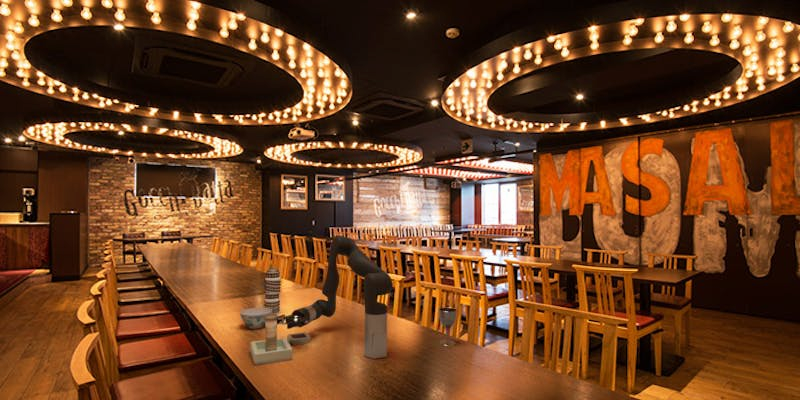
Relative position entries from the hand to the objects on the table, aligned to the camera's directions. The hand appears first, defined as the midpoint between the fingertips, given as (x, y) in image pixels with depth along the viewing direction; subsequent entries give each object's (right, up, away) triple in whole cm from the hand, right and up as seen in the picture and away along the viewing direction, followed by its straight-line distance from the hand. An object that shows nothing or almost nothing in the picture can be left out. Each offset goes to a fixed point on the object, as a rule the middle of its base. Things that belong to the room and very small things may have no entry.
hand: (279, 325), depth 164 cm
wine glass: (+71, -13, +14) cm, 74 cm away
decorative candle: (-23, -13, +60) cm, 65 cm away
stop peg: (-2, -10, -4) cm, 11 cm away
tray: (-2, -11, -5) cm, 12 cm away
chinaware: (-22, -12, +34) cm, 43 cm away
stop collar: (+4, -11, +14) cm, 19 cm away
